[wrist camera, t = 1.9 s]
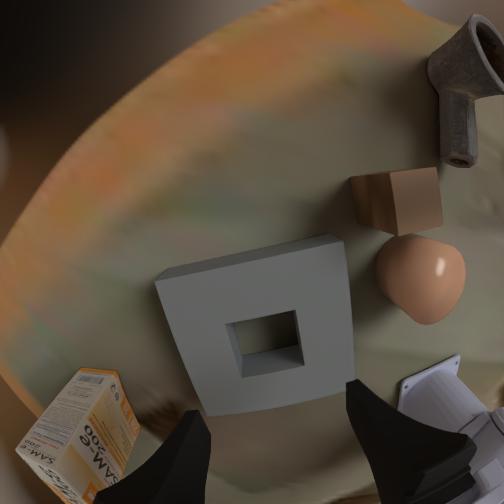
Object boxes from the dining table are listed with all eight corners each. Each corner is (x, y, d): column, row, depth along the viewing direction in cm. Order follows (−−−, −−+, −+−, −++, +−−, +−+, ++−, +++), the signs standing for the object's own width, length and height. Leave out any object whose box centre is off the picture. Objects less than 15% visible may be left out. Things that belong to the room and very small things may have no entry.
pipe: (416, 154, 18) (484, 144, 10) (414, 33, 15) (460, -3, 7) (464, 175, 18) (529, 177, 10) (461, 60, 16) (510, 38, 8)
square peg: (396, 215, 19) (443, 225, 13) (357, 223, 19) (398, 236, 13) (389, 171, 18) (436, 166, 12) (350, 176, 18) (389, 172, 12)
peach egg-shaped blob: (429, 289, 20) (462, 310, 15) (376, 306, 21) (404, 335, 16) (427, 226, 19) (465, 237, 14) (370, 240, 19) (404, 255, 14)
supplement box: (143, 427, 23) (108, 521, 11) (107, 421, 23) (65, 504, 11) (118, 368, 22) (55, 472, 9) (79, 364, 22) (11, 450, 9)
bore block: (344, 367, 22) (355, 387, 19) (211, 394, 22) (207, 416, 19) (329, 233, 19) (343, 240, 16) (167, 268, 20) (154, 281, 17)
